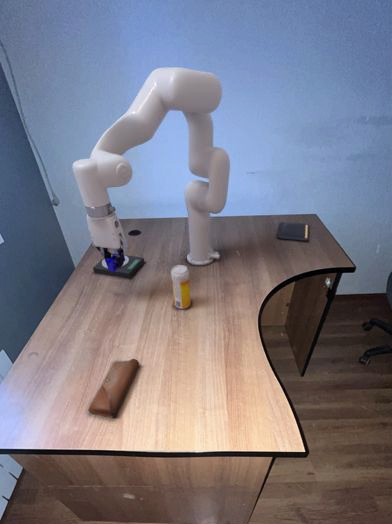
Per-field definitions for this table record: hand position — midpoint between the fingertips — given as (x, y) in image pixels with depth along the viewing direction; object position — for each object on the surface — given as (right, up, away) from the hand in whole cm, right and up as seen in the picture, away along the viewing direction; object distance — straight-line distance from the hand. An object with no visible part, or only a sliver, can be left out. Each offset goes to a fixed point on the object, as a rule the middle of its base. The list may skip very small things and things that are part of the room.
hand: (115, 264), depth 93 cm
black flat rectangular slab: (+79, +32, +46) cm, 97 cm away
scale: (-6, +7, +27) cm, 29 cm away
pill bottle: (+23, -13, +7) cm, 28 cm away
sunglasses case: (+6, -41, -18) cm, 45 cm away
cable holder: (0, 0, 0) cm, 0 cm away
